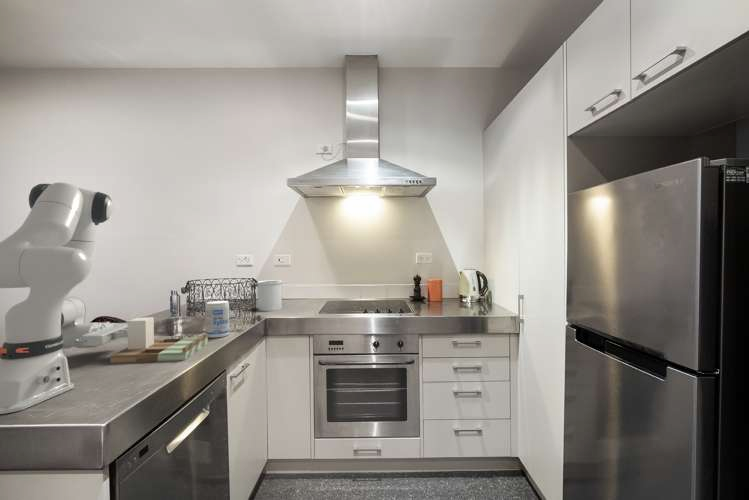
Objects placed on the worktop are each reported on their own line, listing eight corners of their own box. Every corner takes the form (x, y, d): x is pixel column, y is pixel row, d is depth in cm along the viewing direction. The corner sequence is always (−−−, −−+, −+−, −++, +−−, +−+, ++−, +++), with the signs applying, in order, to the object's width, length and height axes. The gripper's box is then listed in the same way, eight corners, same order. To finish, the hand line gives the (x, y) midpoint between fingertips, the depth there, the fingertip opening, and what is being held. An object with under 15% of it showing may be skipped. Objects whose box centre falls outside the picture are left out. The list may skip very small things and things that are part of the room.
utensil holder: (278, 311, 221) (278, 282, 221) (254, 311, 221) (253, 282, 221) (285, 307, 236) (284, 279, 236) (262, 307, 236) (261, 280, 236)
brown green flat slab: (185, 359, 126) (185, 348, 126) (110, 363, 124) (110, 351, 123) (207, 343, 148) (207, 333, 148) (144, 346, 145) (143, 335, 145)
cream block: (145, 348, 132) (145, 320, 132) (128, 349, 132) (127, 321, 132) (154, 344, 138) (153, 317, 138) (136, 344, 138) (136, 317, 138)
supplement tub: (215, 339, 154) (214, 304, 154) (200, 337, 159) (200, 302, 159) (234, 334, 163) (233, 301, 163) (220, 332, 167) (219, 299, 167)
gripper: (70, 332, 123) (115, 330, 124) (107, 320, 143) (145, 319, 145) (71, 351, 123) (115, 349, 124) (108, 337, 143) (146, 335, 145)
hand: (132, 333), depth 135 cm, fingers closed, pressing on cream block
